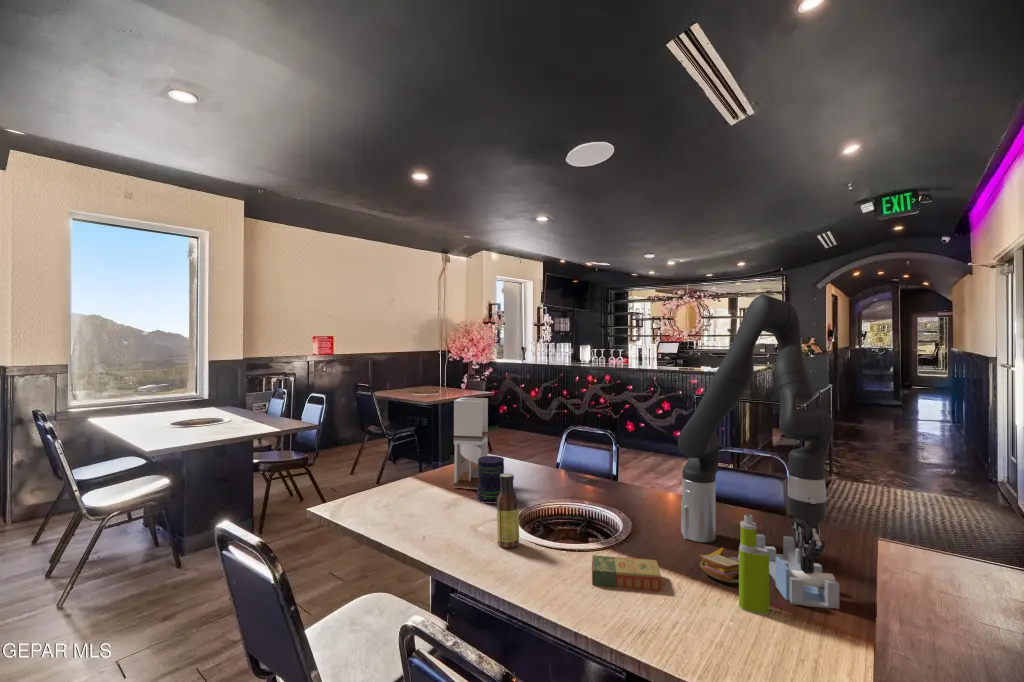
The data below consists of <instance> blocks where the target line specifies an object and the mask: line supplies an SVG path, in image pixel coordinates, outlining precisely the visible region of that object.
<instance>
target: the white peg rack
mask: <svg viewBox="0 0 1024 682" xmlns="http://www.w3.org/2000/svg"><path fill="white" fill-rule="evenodd" d="M782 538H783V540H782V541H783V543H782V545H783V546H782V550H783V552H782V553H777V549H776V548H775V546H768V545H766V536H765V534H762V533H757V547H759V548H764V549H766V550H768V551H769V576H770V577H771V576H772V577H771V578H772V580H773V581H774V580H775V581H774V582H775V587H776V588H777V590H778V592H779V593H780V594H781V595H782V596H783V598H784V599H785V601H789V603H790V605H795V606H804V607H814V608H820V609H821V608H822V609H831V608H833V609H832V610H839V609H840V582H838V581H837V580H836V579H835V580H827V579H825V588H823V587H812V586H803V580H802V579H801V578H800V577H794V576H789V570H795V571H802V570H801V562H800V554H801V553H799V548H795V547H796V545H795V540H794V536H789V535H788V536H787V535H784V536H783V535H782ZM814 572H817V573H823V566H822V565H821V564H820V563H815V562H814ZM834 608H836V609H834ZM838 608H839V609H838Z"/></svg>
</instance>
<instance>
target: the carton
mask: <svg viewBox="0 0 1024 682" xmlns="http://www.w3.org/2000/svg"><path fill="white" fill-rule="evenodd" d="M591 583H592V586H594V587H595V586H596V587H608V588H618V589H628V590H629V589H630V590H640V591H648V592H649V591H651V592H661V593H662V588H663V587H662V573H661V571H660V567H659V564H658V560H657V559H650V558H637V557H636V558H633V557H622V556H621V557H619V556H610V555H609V556H607V555H606V556H604V555H595V554H594V555H592V560H591Z"/></svg>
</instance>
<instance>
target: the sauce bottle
mask: <svg viewBox="0 0 1024 682" xmlns="http://www.w3.org/2000/svg"><path fill="white" fill-rule="evenodd" d="M514 479H515V477H514V474H513V473H509V472H508V473H505V472H504V474H501V475H500V481H501V488H500V490H501V491H500V494H499V495H498V497H497V503H496V526H497V528H496V530H497V532H496V533H497V537H496V538H497V544H498V546H499V547H501V548H503V549H513V548H515V547H517V546H518V545H519V542H520V528H519V527H520V519H519V517H520V515H519V502H518V499H517V495H516V492H515V490H514Z"/></svg>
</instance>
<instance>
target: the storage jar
mask: <svg viewBox="0 0 1024 682" xmlns="http://www.w3.org/2000/svg"><path fill="white" fill-rule="evenodd" d="M501 474H505V458H504V457H502V456H497V455H487V456H485V457H480V458H478V475H479V481H478V490H477V500H478V499H479V500H480V501H483V502H497V497H498V495H499V494H500V491H501V490H500V488H501V481H500V475H501Z"/></svg>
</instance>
